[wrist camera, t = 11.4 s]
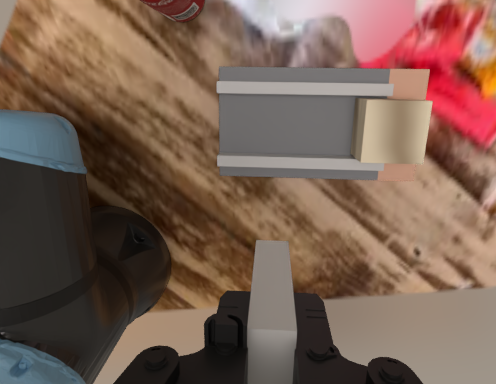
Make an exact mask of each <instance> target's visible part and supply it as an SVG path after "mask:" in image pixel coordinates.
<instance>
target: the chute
mask: <svg viewBox="0 0 496 384" xmlns="http://www.w3.org/2000/svg"><path fill="white" fill-rule="evenodd" d="M429 71H430V69H364V68H288V67H219V81H217V93H219V138H220V153H219V154H218V155H217V166H220V176H253V177H287V178H320V179H354V180H387V181H414V174H415V167H416V164H390V163H360V162H359V161H358V160H357V159H356V158H355V157H354V156H353V155H352V154H350V152H351V141H352V131H353V120H354V110H355V99H356V98H386V99H418V100H425V99H426V92H427V85H428V78H429Z"/></svg>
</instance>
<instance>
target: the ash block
mask: <svg viewBox="0 0 496 384" xmlns="http://www.w3.org/2000/svg"><path fill="white" fill-rule="evenodd" d="M432 102H433V101H427V100H418V99H386V98H356V99H355V110H354V120H353V131H352V141H351V152H350V154H352V155H353V156H354V157H355V158H356V159H357V160H358V161H359V162H360V163H390V164H423V161H424V155H425V148H426V141H427V135H428V128H429V122H430V115H431V109H432Z"/></svg>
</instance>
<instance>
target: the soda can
mask: <svg viewBox="0 0 496 384" xmlns="http://www.w3.org/2000/svg"><path fill="white" fill-rule="evenodd" d="M140 1H142V2H143V3H145V4H147V5H148V6H150V7H151V8H153V9H155V10H156V11H158V12H159V13H161V14H163V15H164V16H166V17H167V18H169V19H171V20H173V21H177V22H186V21H189V20H192V19H193V18H195V17H196V16H197V15H198V14H199V13H200V11H201V10H202V8H203V6H204V2H205V0H140Z"/></svg>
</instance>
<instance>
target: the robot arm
mask: <svg viewBox="0 0 496 384" xmlns="http://www.w3.org/2000/svg"><path fill="white" fill-rule="evenodd" d="M86 174H87V169H86V167H85V166H84V164H83V160H82V155H81V151H80V146H79V141H78V136H77V132H76V130H75V128H74V126H73V125H72V124H71V123H70V122H69V121H68V120H67V119H65V118H64V117H62V116H59V115H56V114H51V113H43V112H31V111H18V110H3V109H0V384H93V383H94V381H95V379H96V377H97V376H98V374H99V373H100V371H101V369H102V368H103V366H104V364H105V363H106V361H107V359H108V357H109V356H110V354H111V352H112V351H113V349H114V347H115V346H116V344H117V342H118V341H119V339H120V337H121V335H122V334H123V332H124V330H125V329H126V327H127V325H129V324H130V323H131V322H133V321H134V320H135V319H136V318H138V317H140V316H142V315H143V314H145V313H146V312H148V311H149V310H150V309H151V308H152V307H153V306H154V305H155V304H156V303H157V302H158V300H159V299H160V297H161V296H162V294H163V292H164V290H165V288H166V286H167V284H168V281H169V278H170V273H171V259H170V254H169V251H168V248H167V245H166V243H165V241H164V239H163V238H162V236H161V235H160V233H159V232H158V231H157V230H156V228H155V227H154V226H153V225H152V224H151V223H149V222H148V221H147V220H146V219H144V218H143V217H141V216H140V215H138V214H136V213H134V212H132V211H129V210H127V209H123V208H119V207H114V206H98V207H93V208H90V205H89V197H88V190H87V182H86ZM204 335H205V336H204V337H205V347H204V348H203V349H202V350H200V351H198V352H196V353H193V354H189V355H184V356H178V353H177V352H176V351H175V350H174V349H173V348H170V347H168V346H154V347H150V348H148V349H146V350H143V351H142V352H141V353H140V354H138V355H137V356H136V358H135V359H134V360H133V361H132V362H131V363H130V365H129V366H128V367H127V368H126V369H125V370H124V372H123V373H122V374H121V375H120V376H119V378H118V379H117V380H116V381H115V382H114V383H113V384H423V383H422V382H421V381H420V379H419V378H418V377H417V375H416V374H415V373H414V372H413V371H412V370H411V369H410V368H409V367H408V366H407V365H406V364H404V363H402V362H400V361H399V360H396V359H393V358H389V357H378V358H375V359H372V360H371V362H369V363H368V367H367V366H364V365H361V364H357V363H354V362H352V361H349V360H347V359H346V358H344V357H343V356H341V354H340V352H339V350H338V348H337V347H336V346H335V345H333V340H332V336H331V332H330V328H329V323H328V319H327V315H326V312H325V306H324V302H323V301H322V299H321V298H320V297H319V296H318V295H317V294H308V293H293V284H292V274H291V264H290V254H289V244H288V241H269V240H256V248H255V257H254V267H253V276H252V286H251V292H247V291H226V292H225V293H224V294H223V296H222V297H221V298H220V302H219V306H218V310H217V313H216V314H213V315H212V316H210V317H209V318H207V320H206V321H205V323H204Z"/></svg>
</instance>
